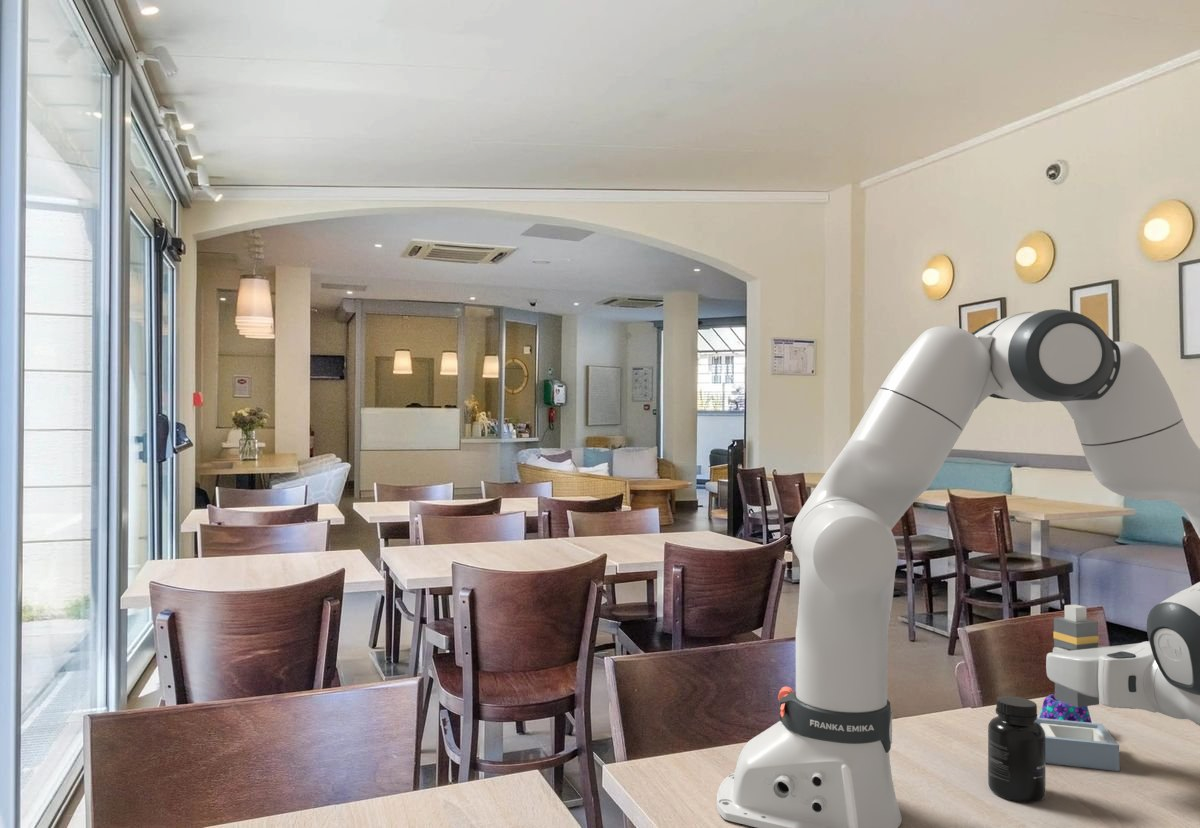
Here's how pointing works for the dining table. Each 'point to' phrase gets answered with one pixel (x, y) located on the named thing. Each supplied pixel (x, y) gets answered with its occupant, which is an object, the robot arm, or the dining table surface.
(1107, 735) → the walled box
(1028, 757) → the supplement bottle
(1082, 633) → the grey bottle
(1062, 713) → the pudding
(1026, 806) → the dining table surface
